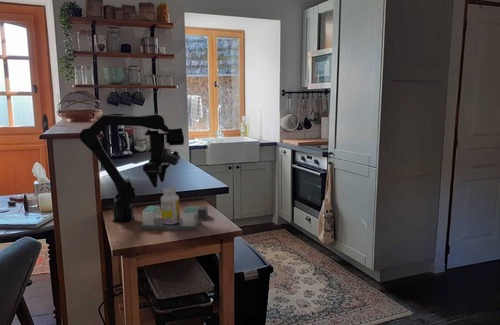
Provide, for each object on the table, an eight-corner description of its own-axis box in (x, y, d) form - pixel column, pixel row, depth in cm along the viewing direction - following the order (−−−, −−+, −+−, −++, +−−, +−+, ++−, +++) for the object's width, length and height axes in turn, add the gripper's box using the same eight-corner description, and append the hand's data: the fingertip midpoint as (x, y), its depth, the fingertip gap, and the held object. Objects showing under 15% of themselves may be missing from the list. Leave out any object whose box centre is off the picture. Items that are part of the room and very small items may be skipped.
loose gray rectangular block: (193, 218, 153) (193, 209, 152) (195, 215, 157) (195, 206, 156) (206, 219, 152) (205, 209, 152) (207, 216, 156) (207, 206, 156)
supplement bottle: (175, 217, 148) (174, 185, 146) (182, 222, 143) (181, 189, 140) (159, 221, 145) (157, 188, 142) (166, 226, 139) (164, 192, 137)
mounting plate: (141, 229, 140) (140, 211, 139) (149, 221, 149) (148, 204, 148) (195, 230, 139) (194, 212, 138) (200, 222, 148) (199, 205, 147)
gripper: (170, 149, 142) (172, 190, 144) (183, 143, 160) (184, 179, 163) (141, 149, 143) (143, 190, 145) (156, 143, 161) (158, 179, 164)
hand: (158, 184), depth 154 cm, fingers open, 9 cm apart
